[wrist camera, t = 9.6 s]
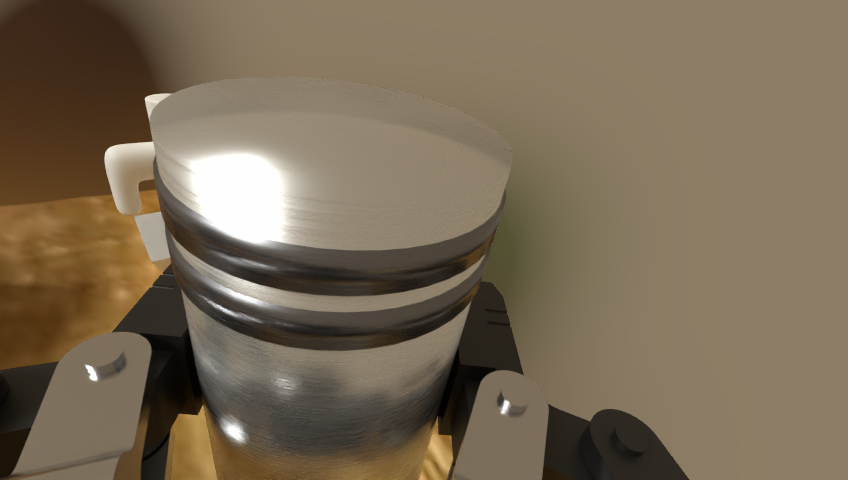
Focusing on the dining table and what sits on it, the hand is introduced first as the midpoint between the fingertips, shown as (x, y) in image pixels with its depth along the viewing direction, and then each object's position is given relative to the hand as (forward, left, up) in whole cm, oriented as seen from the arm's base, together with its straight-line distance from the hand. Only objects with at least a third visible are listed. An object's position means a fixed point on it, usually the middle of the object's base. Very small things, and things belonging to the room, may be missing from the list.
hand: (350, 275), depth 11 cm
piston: (+1, -3, -7) cm, 8 cm away
